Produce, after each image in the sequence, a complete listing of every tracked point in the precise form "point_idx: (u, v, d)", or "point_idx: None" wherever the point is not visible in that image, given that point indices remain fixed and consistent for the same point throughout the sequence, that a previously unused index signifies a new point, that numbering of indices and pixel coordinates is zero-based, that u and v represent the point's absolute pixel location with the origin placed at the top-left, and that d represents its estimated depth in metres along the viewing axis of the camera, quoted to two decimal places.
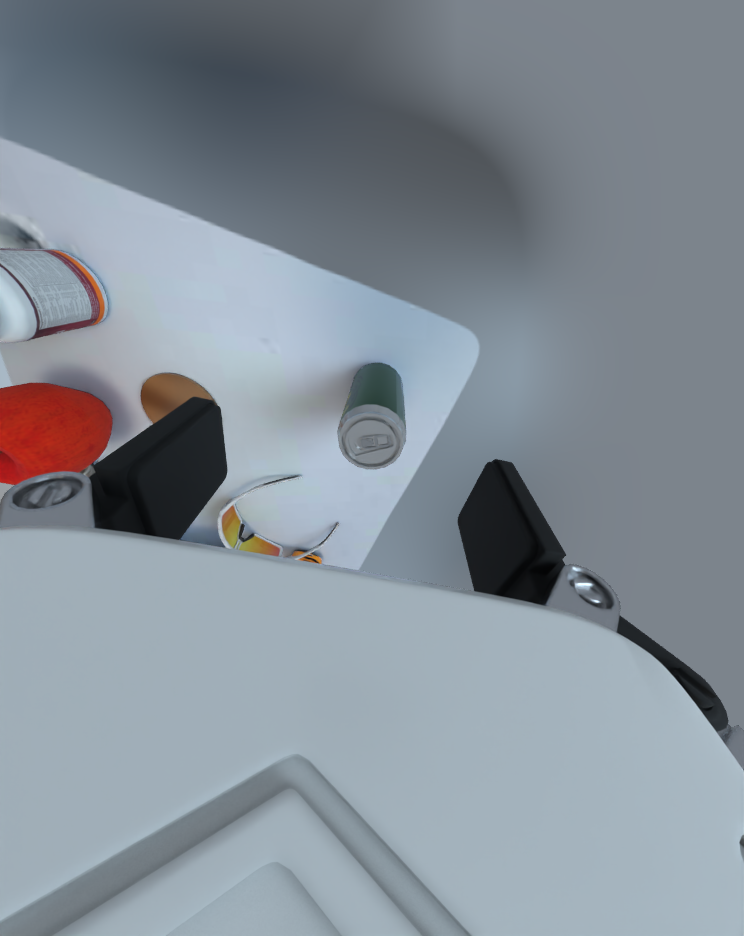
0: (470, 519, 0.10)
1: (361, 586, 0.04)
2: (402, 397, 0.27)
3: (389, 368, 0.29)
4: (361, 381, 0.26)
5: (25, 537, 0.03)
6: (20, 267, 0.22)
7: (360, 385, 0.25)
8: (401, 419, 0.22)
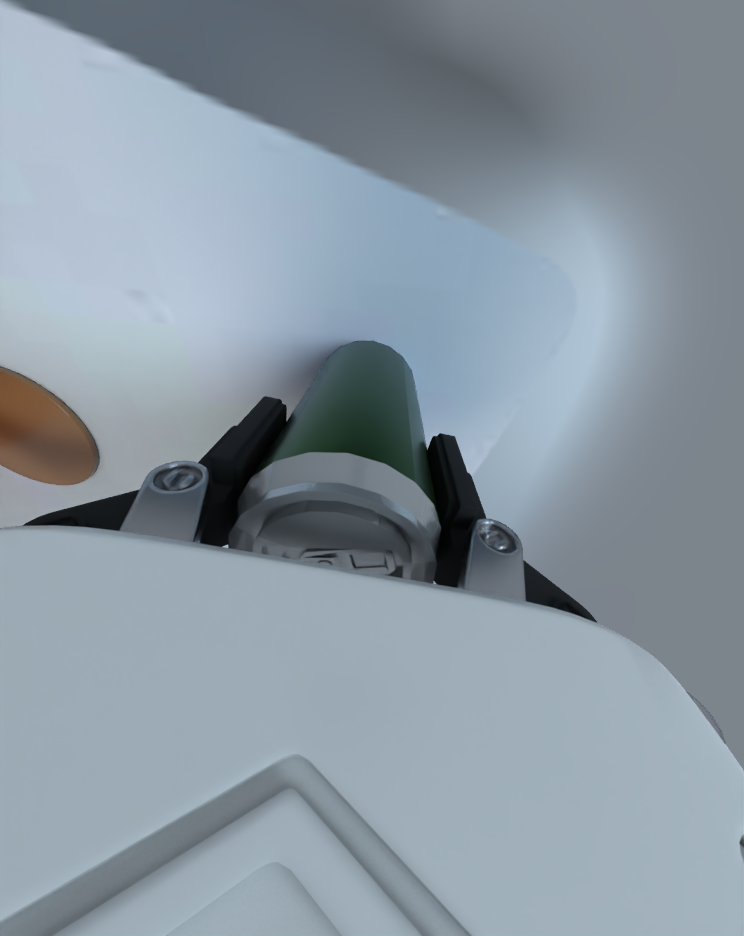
0: None
1: (361, 586, 0.04)
2: (419, 414, 0.12)
3: (389, 351, 0.14)
4: (323, 377, 0.11)
5: (25, 537, 0.03)
6: None
7: (318, 387, 0.10)
8: (428, 494, 0.07)
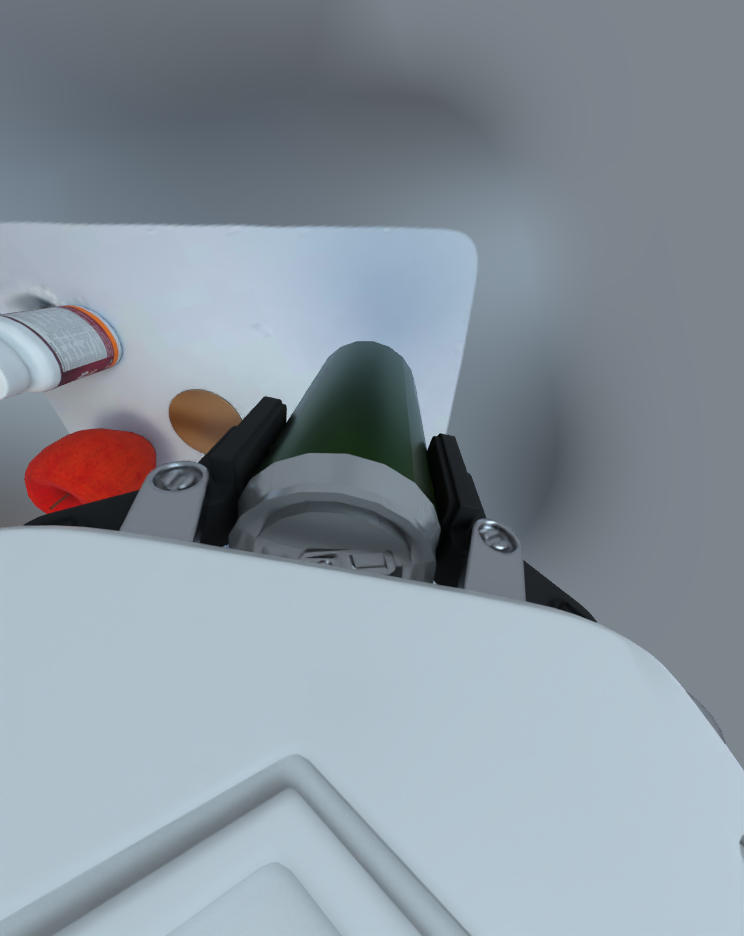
0: None
1: (361, 586, 0.04)
2: (419, 415, 0.12)
3: (389, 352, 0.14)
4: (323, 378, 0.11)
5: (24, 537, 0.03)
6: (35, 320, 0.24)
7: (318, 387, 0.10)
8: (428, 494, 0.07)
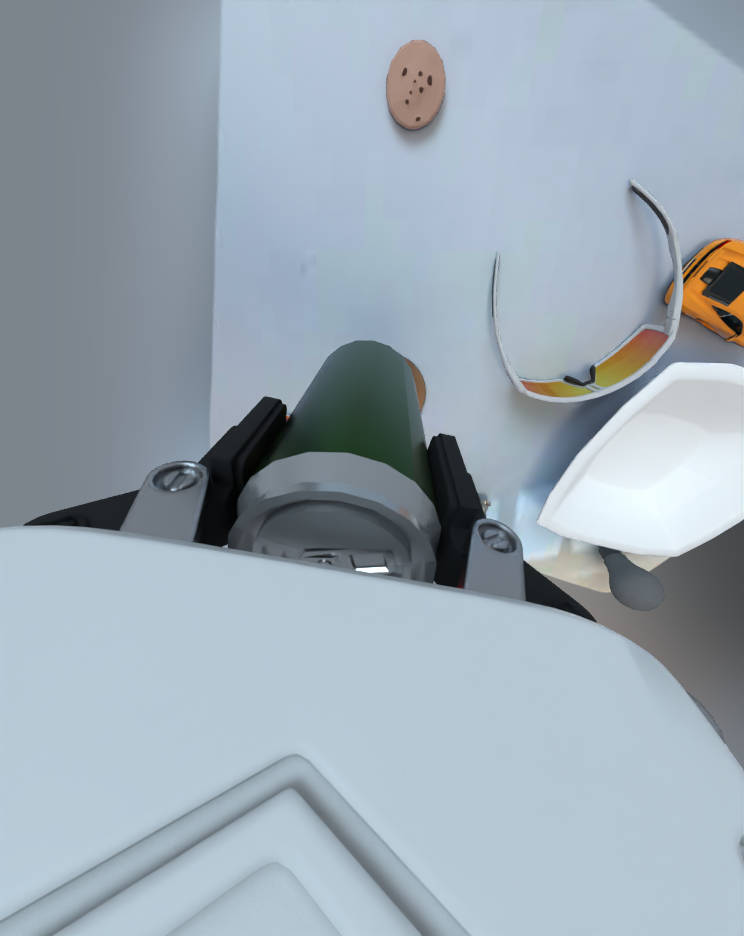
0: None
1: (361, 586, 0.04)
2: (419, 414, 0.12)
3: (389, 351, 0.14)
4: (323, 377, 0.11)
5: (25, 537, 0.03)
6: None
7: (318, 386, 0.10)
8: (428, 494, 0.07)
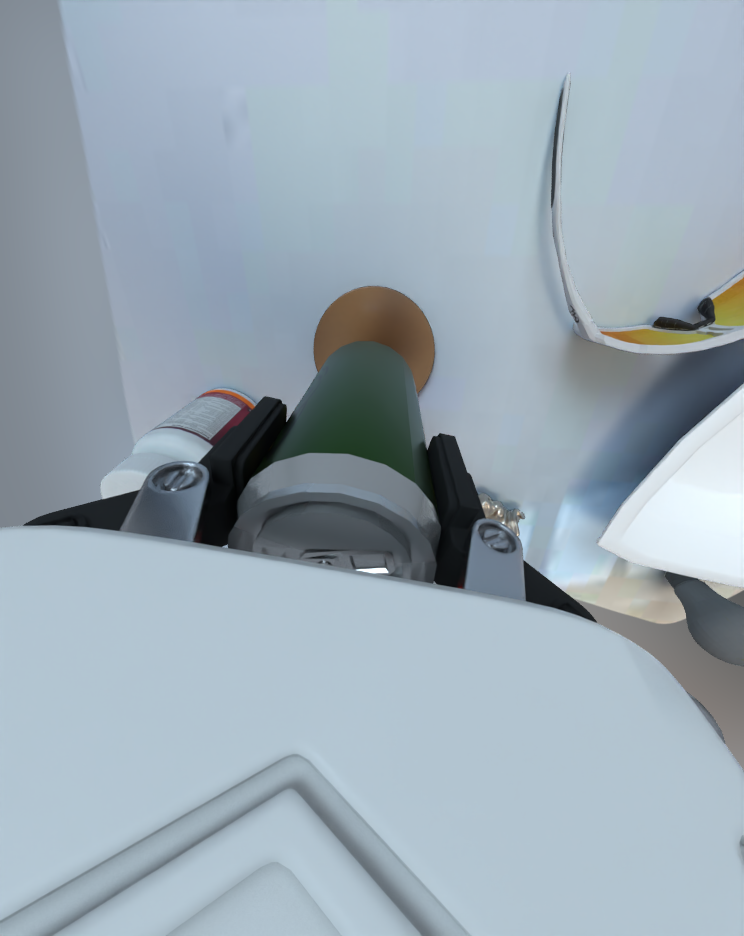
0: None
1: (361, 586, 0.04)
2: (419, 415, 0.12)
3: (389, 351, 0.14)
4: (323, 377, 0.11)
5: (25, 537, 0.03)
6: None
7: (318, 387, 0.10)
8: (428, 495, 0.07)
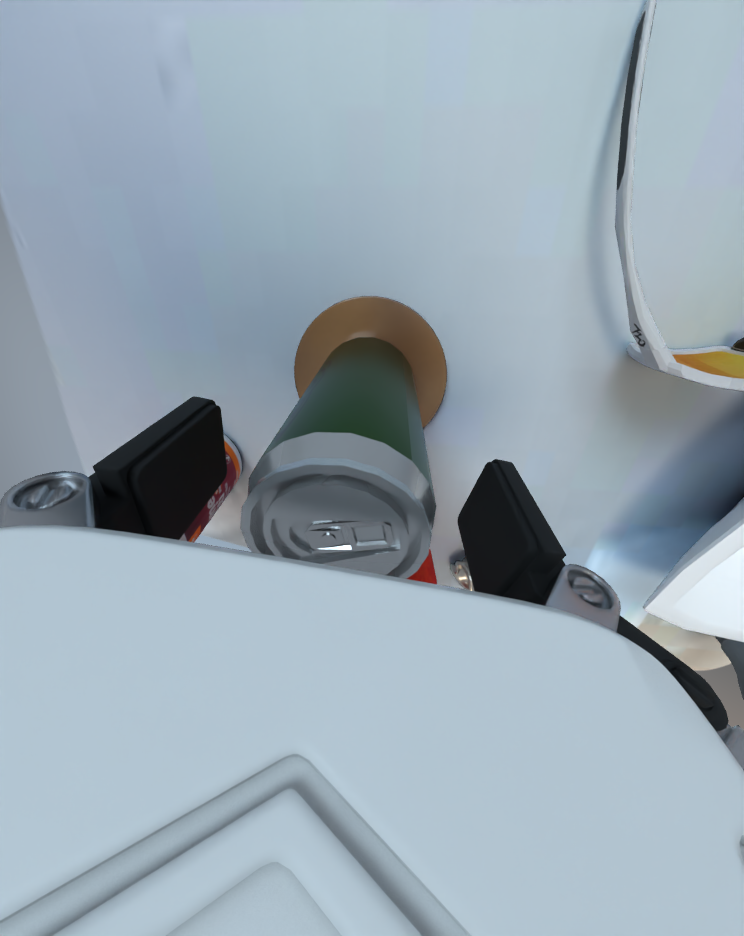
0: (470, 519, 0.10)
1: (361, 586, 0.04)
2: (417, 405, 0.12)
3: (389, 347, 0.15)
4: (327, 370, 0.12)
5: (25, 537, 0.03)
6: None
7: (322, 378, 0.11)
8: (424, 473, 0.08)
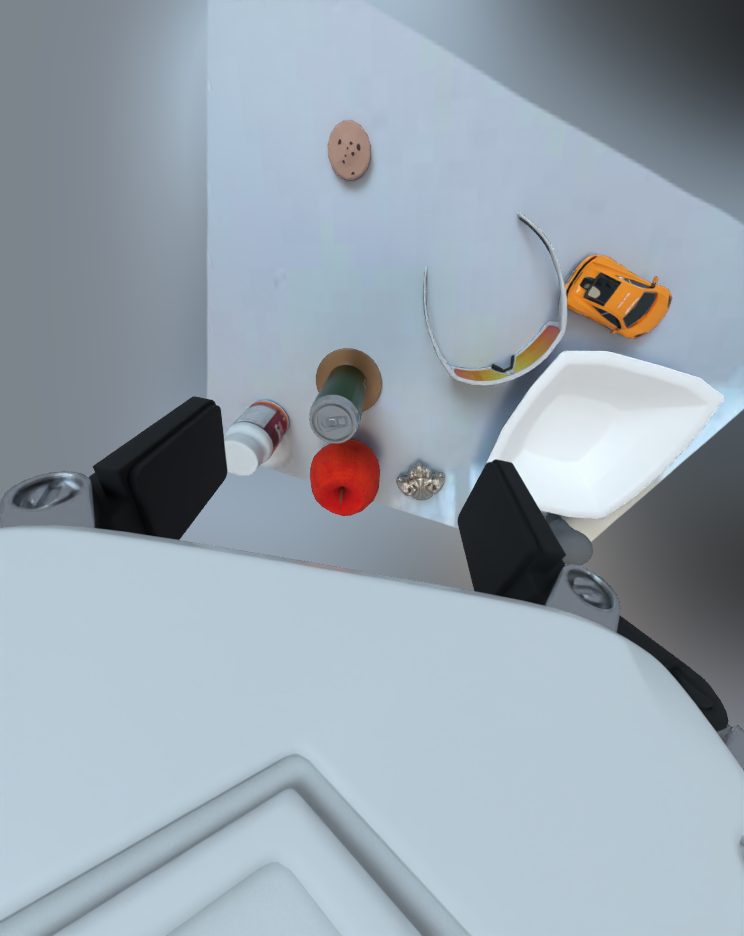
0: (470, 519, 0.10)
1: (361, 586, 0.04)
2: (362, 391, 0.35)
3: (354, 369, 0.37)
4: (330, 378, 0.34)
5: (25, 537, 0.03)
6: (235, 421, 0.38)
7: (328, 381, 0.34)
8: (355, 405, 0.30)
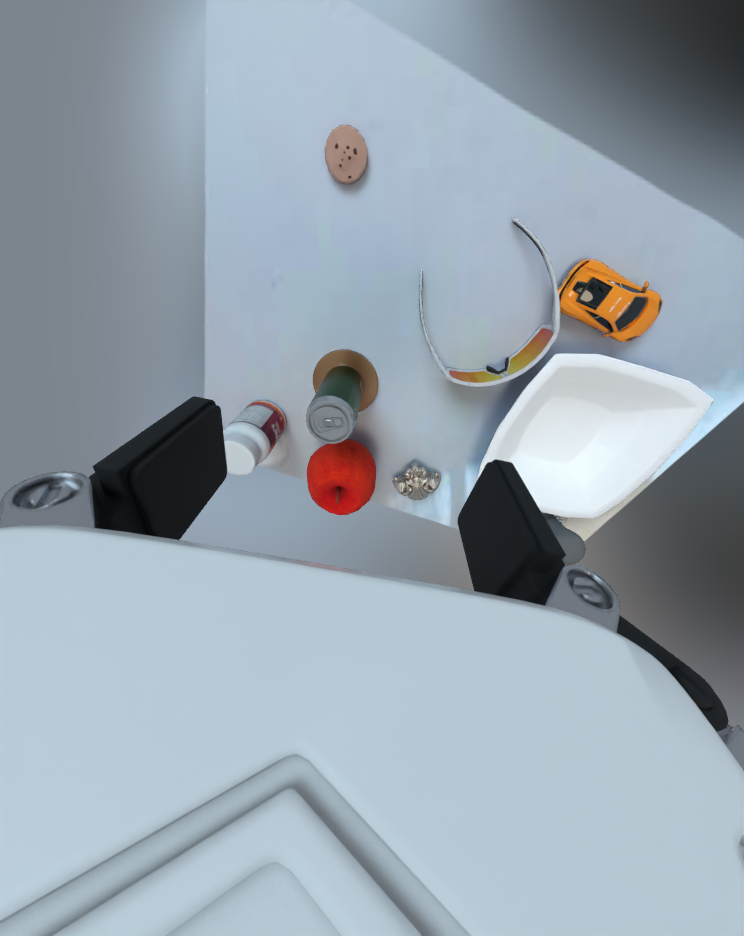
0: (470, 519, 0.10)
1: (361, 586, 0.04)
2: (358, 392, 0.35)
3: (351, 370, 0.38)
4: (327, 379, 0.35)
5: (25, 537, 0.03)
6: (232, 421, 0.38)
7: (325, 382, 0.34)
8: (351, 406, 0.31)
